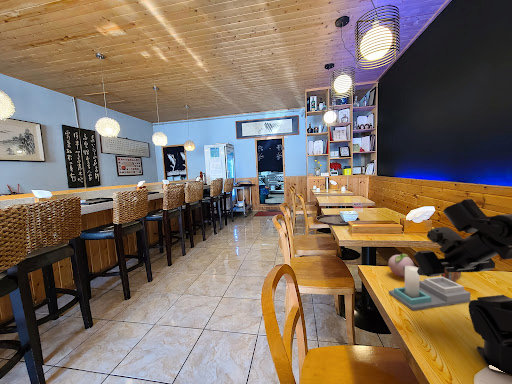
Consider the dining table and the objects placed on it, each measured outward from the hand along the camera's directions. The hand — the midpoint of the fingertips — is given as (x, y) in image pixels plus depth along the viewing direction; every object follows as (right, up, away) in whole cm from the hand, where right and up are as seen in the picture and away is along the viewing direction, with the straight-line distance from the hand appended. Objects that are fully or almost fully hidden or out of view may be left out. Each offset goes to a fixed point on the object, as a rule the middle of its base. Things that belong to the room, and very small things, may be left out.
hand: (432, 271), depth 64 cm
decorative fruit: (+7, -11, +24) cm, 27 cm away
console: (+6, -12, +9) cm, 16 cm away
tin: (+24, -11, +20) cm, 33 cm away
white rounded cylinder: (0, -12, +8) cm, 14 cm away
